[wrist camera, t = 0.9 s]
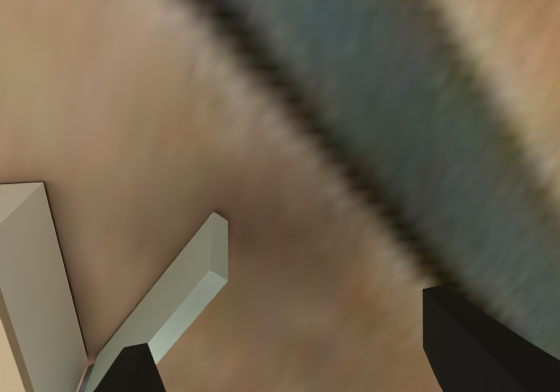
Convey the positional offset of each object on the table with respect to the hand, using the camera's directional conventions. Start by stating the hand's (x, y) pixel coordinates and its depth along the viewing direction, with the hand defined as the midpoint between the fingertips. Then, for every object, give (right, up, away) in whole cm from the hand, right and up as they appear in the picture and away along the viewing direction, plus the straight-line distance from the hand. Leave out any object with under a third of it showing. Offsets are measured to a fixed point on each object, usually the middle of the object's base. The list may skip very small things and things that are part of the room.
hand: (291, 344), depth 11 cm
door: (-6, -1, +10) cm, 12 cm away
